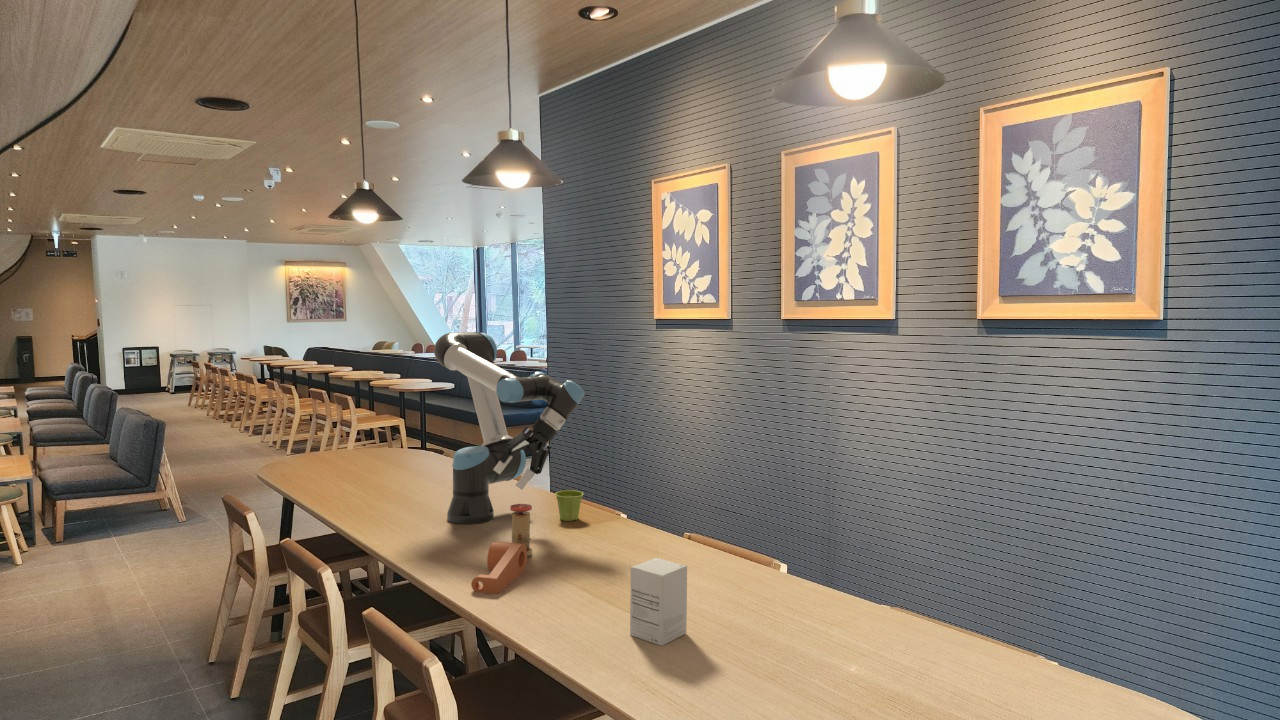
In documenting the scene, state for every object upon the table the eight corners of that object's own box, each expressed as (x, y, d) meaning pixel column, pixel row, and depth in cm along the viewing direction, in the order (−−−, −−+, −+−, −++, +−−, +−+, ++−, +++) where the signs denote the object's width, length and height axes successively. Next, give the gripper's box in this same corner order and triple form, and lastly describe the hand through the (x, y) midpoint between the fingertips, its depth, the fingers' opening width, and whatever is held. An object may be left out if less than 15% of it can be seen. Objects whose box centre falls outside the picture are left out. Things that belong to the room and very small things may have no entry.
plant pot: (581, 523, 257) (582, 497, 256) (553, 522, 257) (553, 496, 256) (584, 515, 266) (584, 490, 265) (556, 515, 266) (557, 490, 266)
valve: (504, 554, 221) (505, 505, 220) (523, 550, 225) (524, 502, 225) (517, 560, 216) (517, 510, 215) (536, 555, 221) (537, 506, 220)
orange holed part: (499, 566, 211) (499, 537, 211) (526, 569, 209) (527, 540, 209) (466, 591, 192) (466, 559, 191) (496, 594, 190) (496, 562, 189)
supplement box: (654, 622, 173) (655, 556, 173) (687, 633, 168) (688, 565, 167) (628, 635, 166) (629, 566, 166) (661, 647, 161) (662, 575, 160)
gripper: (537, 412, 235) (494, 470, 230) (574, 445, 255) (535, 499, 250) (521, 402, 239) (478, 459, 235) (558, 435, 259) (519, 488, 254)
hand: (507, 480), depth 242 cm, fingers open, 13 cm apart
